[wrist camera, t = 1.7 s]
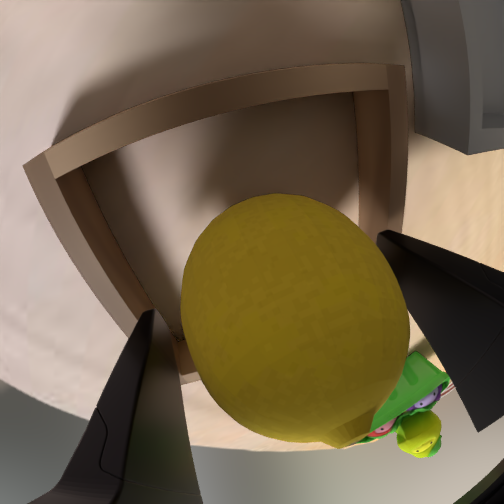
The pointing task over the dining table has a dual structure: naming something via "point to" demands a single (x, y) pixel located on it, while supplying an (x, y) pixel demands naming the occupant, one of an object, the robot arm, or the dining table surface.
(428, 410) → the fruit basket
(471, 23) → the tray
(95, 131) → the lemon holder
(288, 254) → the lemon
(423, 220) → the dining table surface
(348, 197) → the dining table surface
